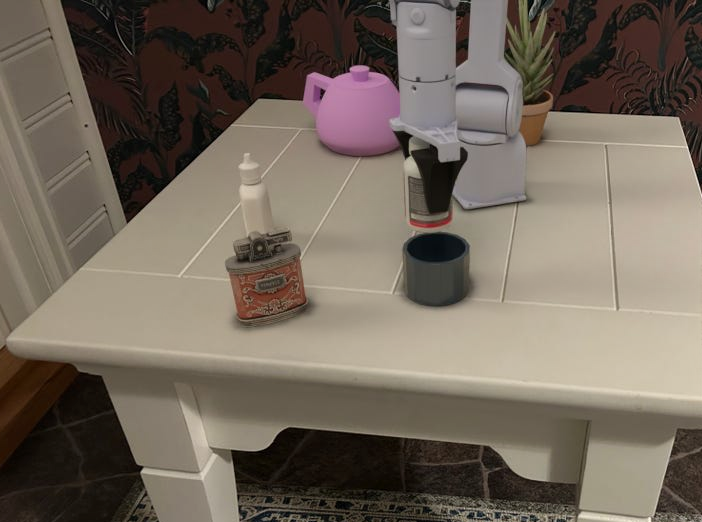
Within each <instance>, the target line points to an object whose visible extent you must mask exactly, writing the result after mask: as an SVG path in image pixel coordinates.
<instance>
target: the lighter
mask: <svg viewBox="0 0 702 522" xmlns="http://www.w3.org/2000/svg"><path fill="white" fill-rule="evenodd" d="M292 241H293V236H292V231H291V229H290V228H288V227H282V228H277V229H274V230H272V231H268V232H267V233H265V234H260V233H259V232H257V231H254V232H251V233H249V235H248V237H247V236H246V237H244V238H239V239H235V240H233V241H232V247H233V251H234V253H235V255H232V256H230V257H228V258H226V259H225V261H224V266H225V270H226V272H227V273H228V275H229V281H230V286H231V291H232V294H233V295H232V296H233V298H234V303H235V307H236V311H237V312H236V320H237V324H238V325H239V326H241V327H243V328H252V327H258V326H263V325H264V326H265V325H268V324H272V323H277V322H280V321H283V320H286V319H289V318H292V317H296V316H298V315H301V314H302V313H305V312H307V311H308V309H309V306H310V305H309V300H308V297H306V290H305V284H304V277H303V270H302V269H303V268H302V261H301V257H302V251H301V247H300V246H299V245H298V244H297V243H291V242H292Z"/></svg>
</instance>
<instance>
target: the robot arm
mask: <svg viewBox="0 0 702 522" xmlns="http://www.w3.org/2000/svg"><path fill="white" fill-rule="evenodd" d="M460 2H461V0H388V3H389V7H390V21H391V23H392V25H393V26H395V27H396V42H397V43H396V45H397V47H396V49H397V66H398V67H397V69H398V89H399V90H398V92H399V93H400V115H399V117H398V118H393V119H390V120H389V122H390V127H391V129H392V131H393V133H394V134H395V136H396V138H397V140H398V142H399V144H400V146H399V148H400V149H401V151H402V155H403V158H404V161H405V160H406V159H407V158H408V157H410V156H411V155H412V157H413V159H414V161H415V163H416V165H417V167H418V170H419V172H420V176H421V179H422V184H423V189H424V196H425V202H426V206H427V209H428V211H429V213H430V214H433V213H440V212H446V211H448V208H449V205H450V201H451V197H452V193H453V198H455V199H456V201H457V202H458V203H459V204H460V205H461V207H462V208H463V209H464V210H473V209H479V208H484V207H485V208H486V207H493V206H497V205H503V204H511V203H516V202H517V203H518V202H523V201H527V195H525V194H526V193H525V191H526V177H527V164H528V163H527V161H528V152H527V146H526V144H525V141H524V138H523V136H522V134H521V133H520V132H519V131H518V130H519V127H520V124H521V118H522V110H523V95H522V86H523V81H522V78H521V76H520V74H519V73H518V72H517V71H516V70H515V69H514V67H513V66H512V65H511V64H510V63H509V62H508V63H509V64H510V65H511V66H510V65H509V64H508V63H507V62H506V61H505V60H504V56H505V46H506V45H505V44H506V33H507V24H506V19H507V18H508V5H509V4H508V3H509V0H470V14H469V30H468V31H469V32H468V49H467V50H468V51H467V59H466V60H465V61H463V62H462V63H460V65H458V66H457V62H456V61H457V7H458V6H459V4H460ZM413 136H415V137H417V138H419V139H422V140H424V141H426V142H428V143H430V144H429V146H430V149H429V148H426V149H419V150H411V155H410V154H409V140H410V138H411V137H413Z"/></svg>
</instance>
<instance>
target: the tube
mask: <svg viewBox="0 0 702 522" xmlns="http://www.w3.org/2000/svg"><path fill="white" fill-rule="evenodd" d="M401 250H402V251H401V252H402V273H403V275H402V276H403V289H404V293H405V295H406V297H407V298H408V299H410V300H411V301H412V302H414V303H416V304H419V305H423V306H426V307H446V306H450V305H451V306H452V305H455V304H456V303H459V302H460V301H462V300H463V299H465V298H466V297H467V296H468V294H469V292H470V273H471V271H470V270H471V267H470V266H471V245H470V244H469V242H468V241H467V239H466V238H464V237H462V236H461V235H458V234H456V233H451V232H447V231H440V232H436V233H422V232H420V233H418V234H415V235H413V236H411V237H409V238H408V239H407V240H406V241H405V242H404V243H403V244H402V249H401Z"/></svg>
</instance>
